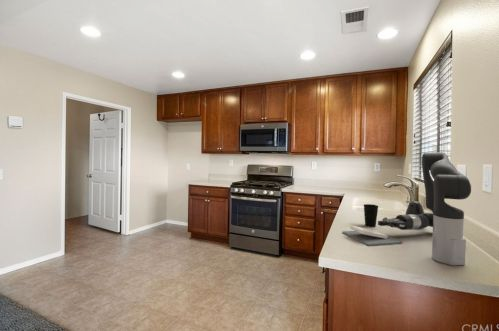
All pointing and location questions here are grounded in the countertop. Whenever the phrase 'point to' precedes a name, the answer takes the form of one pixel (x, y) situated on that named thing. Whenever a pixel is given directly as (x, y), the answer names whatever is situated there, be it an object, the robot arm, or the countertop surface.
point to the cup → (370, 214)
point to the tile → (368, 232)
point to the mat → (371, 239)
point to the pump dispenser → (414, 208)
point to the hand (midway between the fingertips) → (379, 223)
